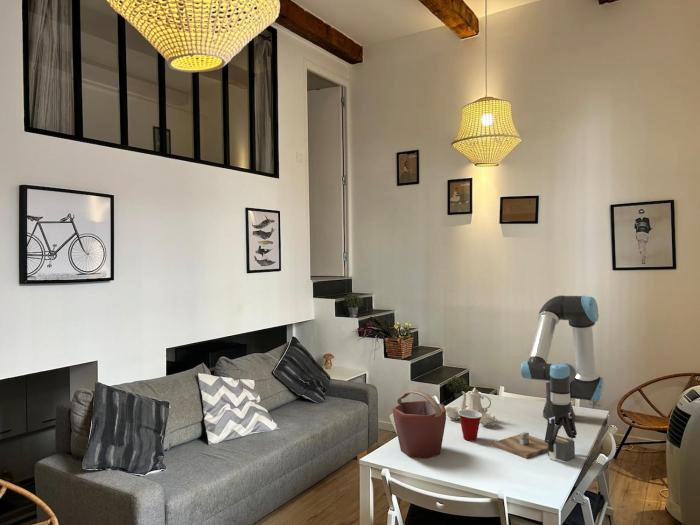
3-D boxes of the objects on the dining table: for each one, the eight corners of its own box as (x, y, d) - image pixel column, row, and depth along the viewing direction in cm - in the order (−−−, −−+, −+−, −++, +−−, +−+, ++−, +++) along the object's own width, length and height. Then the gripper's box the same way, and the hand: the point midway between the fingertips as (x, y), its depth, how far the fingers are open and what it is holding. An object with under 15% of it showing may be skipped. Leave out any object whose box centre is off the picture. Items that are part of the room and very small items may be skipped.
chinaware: (440, 424, 270) (438, 392, 268) (453, 412, 283) (451, 381, 282) (495, 433, 254) (493, 399, 252) (505, 420, 268) (504, 388, 266)
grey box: (547, 455, 221) (547, 437, 221) (557, 452, 224) (557, 434, 224) (564, 461, 214) (564, 443, 214) (574, 457, 218) (574, 440, 217)
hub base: (522, 436, 244) (522, 423, 244) (557, 448, 229) (556, 434, 229) (492, 445, 233) (492, 432, 233) (526, 458, 218) (525, 444, 218)
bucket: (386, 445, 237) (385, 389, 237) (430, 438, 245) (429, 383, 245) (412, 465, 214) (410, 403, 214) (459, 456, 222) (458, 396, 222)
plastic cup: (481, 444, 236) (480, 417, 236) (456, 441, 240) (455, 414, 239) (484, 436, 246) (483, 410, 246) (460, 433, 250) (460, 408, 250)
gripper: (569, 396, 228) (570, 447, 228) (534, 405, 216) (535, 459, 216) (585, 399, 222) (586, 452, 222) (550, 409, 209) (551, 465, 210)
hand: (561, 456), depth 219 cm, fingers open, 10 cm apart
